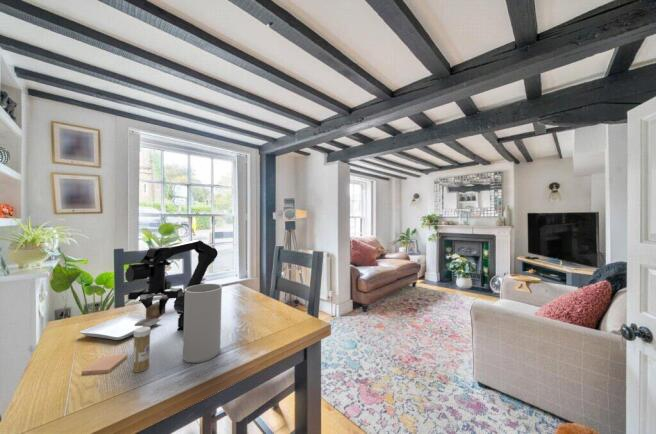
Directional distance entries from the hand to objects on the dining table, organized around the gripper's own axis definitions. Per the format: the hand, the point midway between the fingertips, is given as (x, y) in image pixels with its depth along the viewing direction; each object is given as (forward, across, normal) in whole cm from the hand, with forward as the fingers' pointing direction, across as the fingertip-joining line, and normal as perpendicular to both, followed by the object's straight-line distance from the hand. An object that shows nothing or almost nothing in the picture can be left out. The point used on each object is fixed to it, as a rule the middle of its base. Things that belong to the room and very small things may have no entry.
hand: (156, 314), depth 103 cm
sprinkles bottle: (+11, -6, +21) cm, 24 cm away
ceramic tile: (+10, +7, +13) cm, 18 cm away
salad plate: (+11, +19, -12) cm, 25 cm away
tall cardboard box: (+1, 0, +3) cm, 3 cm away
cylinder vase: (+11, -23, +14) cm, 29 cm away
